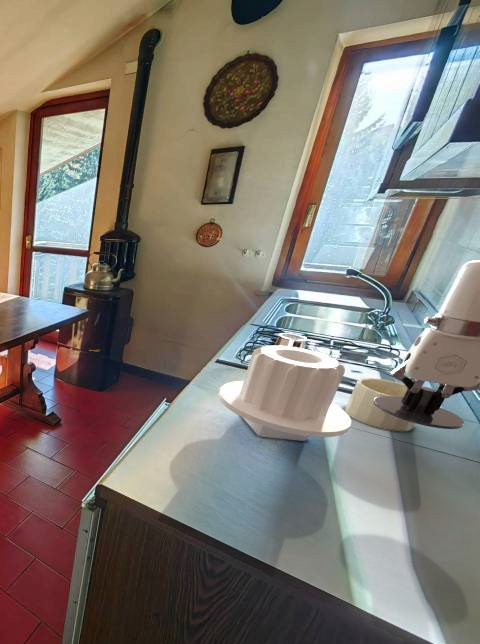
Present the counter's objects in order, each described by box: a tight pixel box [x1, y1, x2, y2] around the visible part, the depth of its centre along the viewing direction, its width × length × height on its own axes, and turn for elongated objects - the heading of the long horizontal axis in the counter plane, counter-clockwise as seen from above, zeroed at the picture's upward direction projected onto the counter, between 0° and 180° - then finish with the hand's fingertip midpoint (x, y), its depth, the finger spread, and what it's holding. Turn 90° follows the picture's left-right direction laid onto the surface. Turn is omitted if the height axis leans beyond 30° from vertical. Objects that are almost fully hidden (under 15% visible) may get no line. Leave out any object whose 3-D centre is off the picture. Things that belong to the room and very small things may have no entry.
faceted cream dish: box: [344, 377, 416, 432], centre depth 98 cm, size 12×12×8 cm
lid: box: [373, 386, 465, 430], centre depth 82 cm, size 13×13×6 cm
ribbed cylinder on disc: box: [217, 344, 352, 442], centre depth 91 cm, size 25×25×19 cm
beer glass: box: [273, 332, 308, 349], centre depth 115 cm, size 7×7×15 cm
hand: (417, 409), depth 82 cm, fingers closed on lid, 2 cm apart
